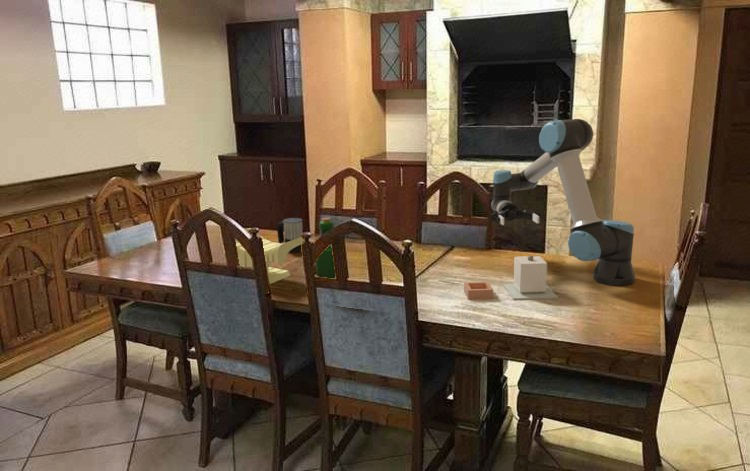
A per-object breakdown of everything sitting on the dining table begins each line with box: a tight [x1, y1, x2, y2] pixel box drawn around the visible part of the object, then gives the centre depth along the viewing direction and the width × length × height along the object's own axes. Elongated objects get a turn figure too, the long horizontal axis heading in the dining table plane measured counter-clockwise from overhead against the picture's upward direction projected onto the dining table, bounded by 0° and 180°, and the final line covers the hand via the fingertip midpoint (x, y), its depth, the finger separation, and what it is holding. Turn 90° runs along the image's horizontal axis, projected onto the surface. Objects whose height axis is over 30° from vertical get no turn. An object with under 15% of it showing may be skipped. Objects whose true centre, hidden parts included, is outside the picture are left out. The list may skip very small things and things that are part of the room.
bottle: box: [314, 217, 335, 278], centre depth 227 cm, size 11×11×28 cm
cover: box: [513, 255, 548, 293], centre depth 221 cm, size 9×9×13 cm
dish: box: [463, 281, 494, 301], centre depth 220 cm, size 9×9×4 cm
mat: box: [502, 282, 559, 301], centre depth 223 cm, size 16×16×1 cm
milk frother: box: [276, 217, 303, 253], centre depth 283 cm, size 14×16×15 cm
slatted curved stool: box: [221, 227, 303, 285], centre depth 244 cm, size 30×16×18 cm, turn 56°
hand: (520, 220), depth 233 cm, fingers open, 13 cm apart
